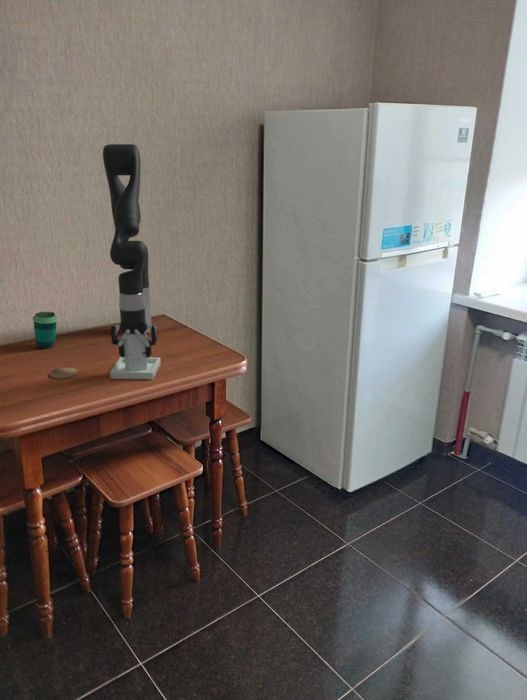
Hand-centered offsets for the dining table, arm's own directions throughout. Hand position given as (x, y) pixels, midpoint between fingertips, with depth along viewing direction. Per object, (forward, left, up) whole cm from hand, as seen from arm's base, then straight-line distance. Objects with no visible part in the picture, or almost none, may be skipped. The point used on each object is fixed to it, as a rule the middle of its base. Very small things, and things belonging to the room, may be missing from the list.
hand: (135, 356), depth 179 cm
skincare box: (0, 0, -4) cm, 4 cm away
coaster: (+4, -22, -5) cm, 23 cm away
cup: (-21, -36, -5) cm, 42 cm away
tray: (0, 0, -5) cm, 5 cm away
